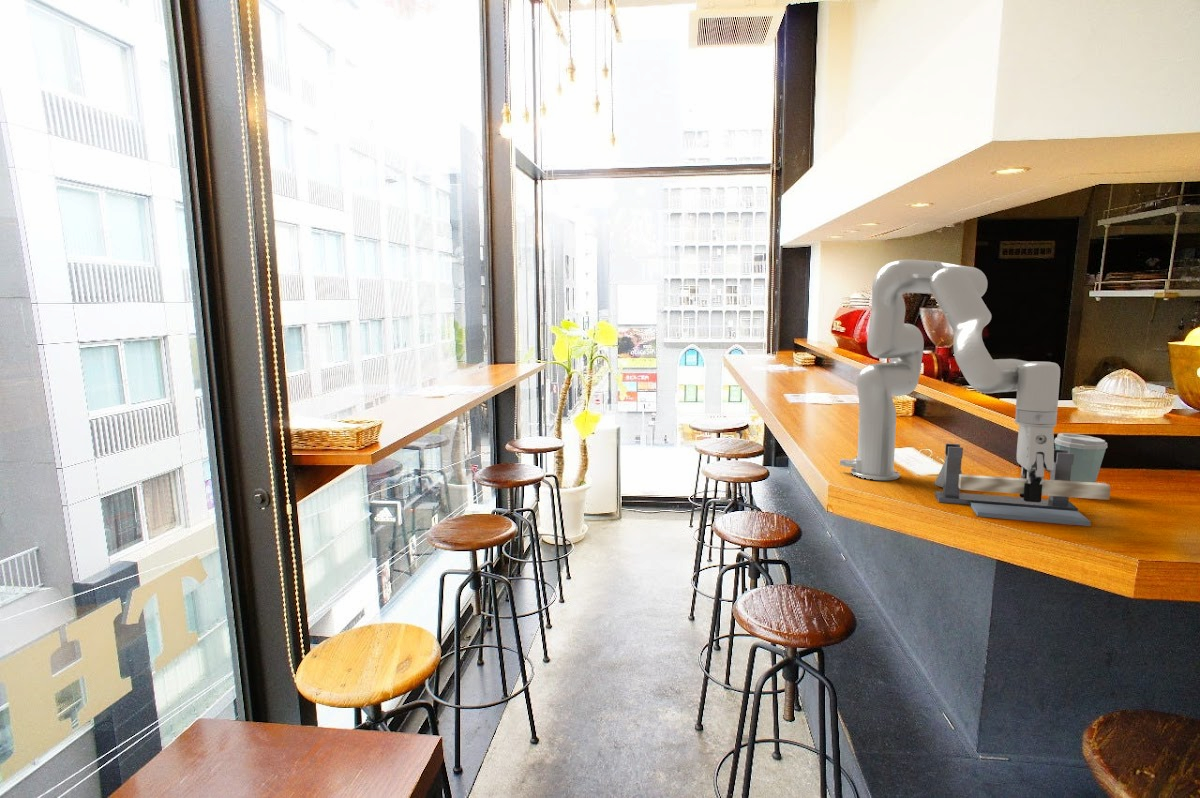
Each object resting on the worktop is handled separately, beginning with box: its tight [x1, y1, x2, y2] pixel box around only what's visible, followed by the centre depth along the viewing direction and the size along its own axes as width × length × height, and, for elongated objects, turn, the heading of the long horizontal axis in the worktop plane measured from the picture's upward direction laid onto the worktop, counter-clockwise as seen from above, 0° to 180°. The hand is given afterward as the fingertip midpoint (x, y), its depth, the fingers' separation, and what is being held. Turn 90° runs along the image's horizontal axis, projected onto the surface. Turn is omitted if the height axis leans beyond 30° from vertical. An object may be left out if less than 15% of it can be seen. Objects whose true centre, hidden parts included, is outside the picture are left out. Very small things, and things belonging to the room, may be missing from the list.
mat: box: [970, 503, 1092, 527], centre depth 142 cm, size 21×8×1 cm, turn 70°
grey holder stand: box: [934, 443, 1079, 512], centre depth 150 cm, size 28×6×14 cm, turn 70°
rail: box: [958, 473, 1111, 501], centre depth 141 cm, size 28×2×3 cm, turn 70°
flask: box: [933, 461, 963, 488], centre depth 167 cm, size 7×7×10 cm
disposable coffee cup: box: [1054, 432, 1108, 483], centre depth 158 cm, size 11×11×15 cm
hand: (1030, 498), depth 141 cm, fingers closed on rail, 2 cm apart
